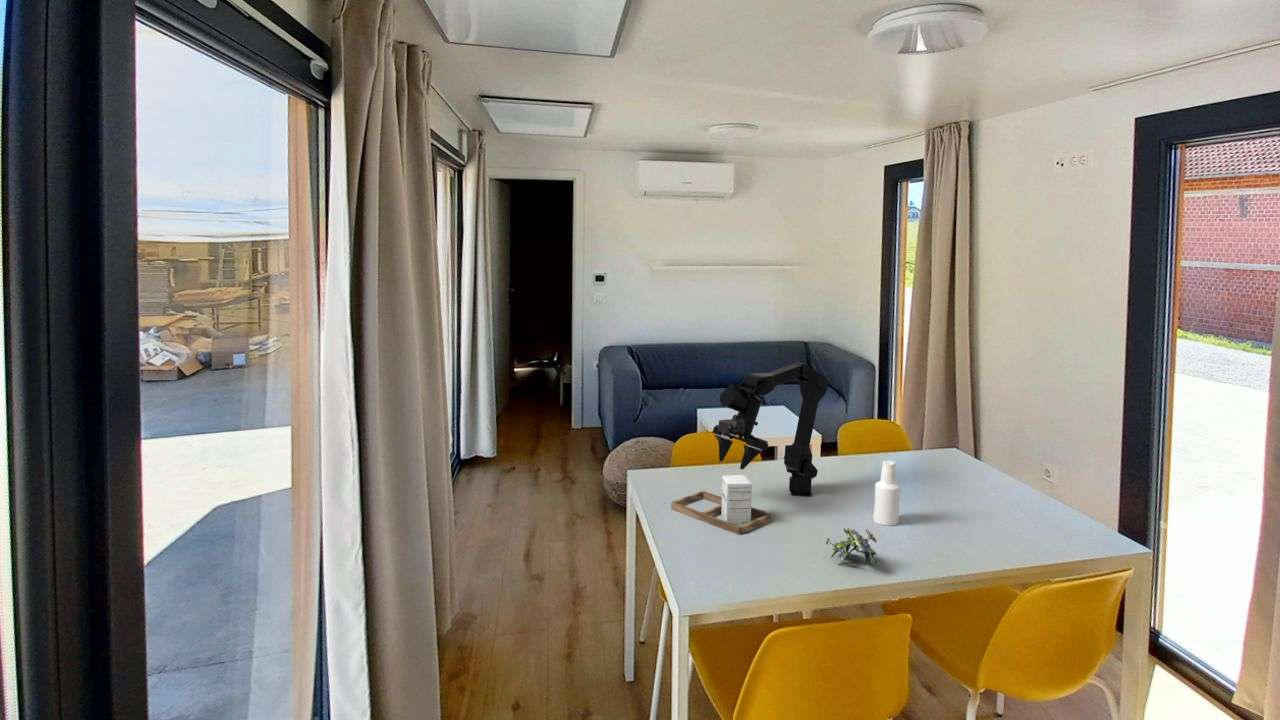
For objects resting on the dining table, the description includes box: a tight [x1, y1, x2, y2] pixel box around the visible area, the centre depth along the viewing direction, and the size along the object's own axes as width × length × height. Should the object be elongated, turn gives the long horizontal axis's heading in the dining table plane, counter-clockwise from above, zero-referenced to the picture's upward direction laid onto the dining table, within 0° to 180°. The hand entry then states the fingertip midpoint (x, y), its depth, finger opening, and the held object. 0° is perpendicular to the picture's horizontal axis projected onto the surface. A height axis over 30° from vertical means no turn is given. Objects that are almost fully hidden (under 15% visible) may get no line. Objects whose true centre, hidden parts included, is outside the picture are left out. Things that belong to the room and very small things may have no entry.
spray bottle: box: [872, 459, 901, 527], centre depth 198 cm, size 7×7×18 cm
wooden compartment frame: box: [670, 490, 772, 535], centre depth 204 cm, size 15×27×2 cm, turn 43°
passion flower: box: [825, 526, 879, 567], centre depth 172 cm, size 11×11×12 cm
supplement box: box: [720, 474, 753, 526], centre depth 199 cm, size 7×7×13 cm
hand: (730, 465), depth 204 cm, fingers open, 9 cm apart
